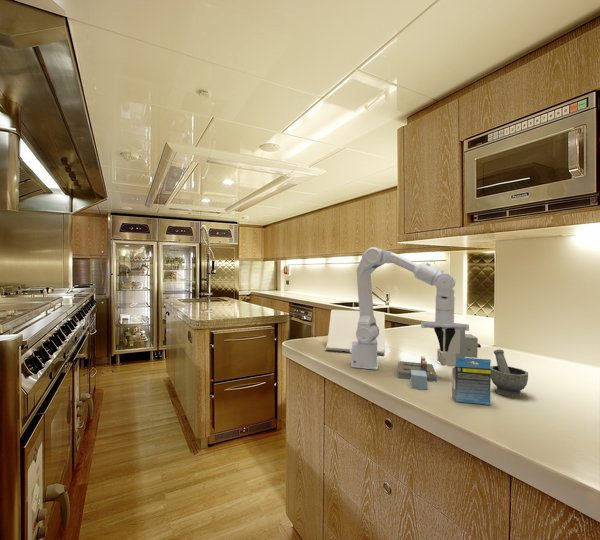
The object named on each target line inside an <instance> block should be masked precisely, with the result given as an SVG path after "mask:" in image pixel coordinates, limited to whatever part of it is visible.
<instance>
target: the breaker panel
mask: <svg viewBox="0 0 600 540" xmlns="http://www.w3.org/2000/svg"><path fill="white" fill-rule="evenodd" d="M411 370H420V371H423V370H422V366H421V362H413V361H412V362H411V361H404V360H403V361H401V360H397V378H398V377H399V378H398V379H405V378H408V380H411ZM435 370H436V369H435V367H434V365H433V364H432V363H427V371H426V374H427V382H433V381H435V382H434V383H437V382H438V375H437V373H436V371H435Z"/></svg>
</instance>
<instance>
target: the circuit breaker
mask: <svg viewBox="0 0 600 540" xmlns="http://www.w3.org/2000/svg"><path fill="white" fill-rule="evenodd" d="M439 327H442V326H439ZM450 328H452V327H450ZM442 330H443V332H444V333H443V351H440V348H437V359H436V360H437V362H438V361H439V362H440V363H439V362H438V363H439V364H440V365H441V366H445V365H448V366H447V367H455V366H456V357H461V358H476V359H478V348H479V349H480V348H482V345H481V344H480V343H479V342H478V341H479V340H478V337H477V336H474V335H473V334H472V333H471V334H470V333H466V331H465V330H455V335H454V336H453V338H452V340H451V342H450V345H449V348H448V352H446V351H445V329H442Z"/></svg>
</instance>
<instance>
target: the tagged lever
mask: <svg viewBox="0 0 600 540" xmlns="http://www.w3.org/2000/svg"><path fill="white" fill-rule="evenodd" d="M427 364H428V361H427V360H425V361H424V360H422V370H423V371H427Z"/></svg>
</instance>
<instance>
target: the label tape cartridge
mask: <svg viewBox="0 0 600 540" xmlns="http://www.w3.org/2000/svg"><path fill="white" fill-rule="evenodd" d="M491 361H492V360H491V359H487V358H470V357H465V358H461V357H456V366H453V367H452V371H451V373H452V374H451V398H452V399H453V401H454V400H455V401H454V402H456V403H463V402H464V403H465V404H477V405H478V404H479V405H486V406H491V396H492V395H491V390H492V389H491V385H492V384H491V381H492V380H491V369H490V367H491ZM472 362H473V363H475V364H469V363H472ZM476 363H477V364H476Z"/></svg>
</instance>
